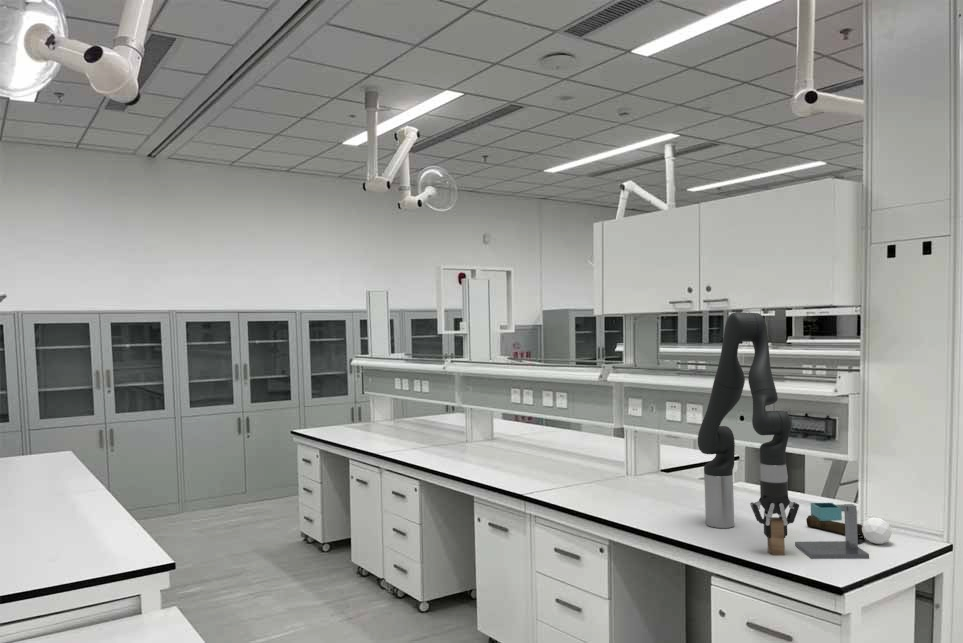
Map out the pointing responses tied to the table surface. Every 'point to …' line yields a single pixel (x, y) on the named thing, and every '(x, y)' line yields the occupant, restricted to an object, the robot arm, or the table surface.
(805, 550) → the cup bracket
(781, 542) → the brown wooden block
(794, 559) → the table surface
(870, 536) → the ball
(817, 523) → the hand tool
